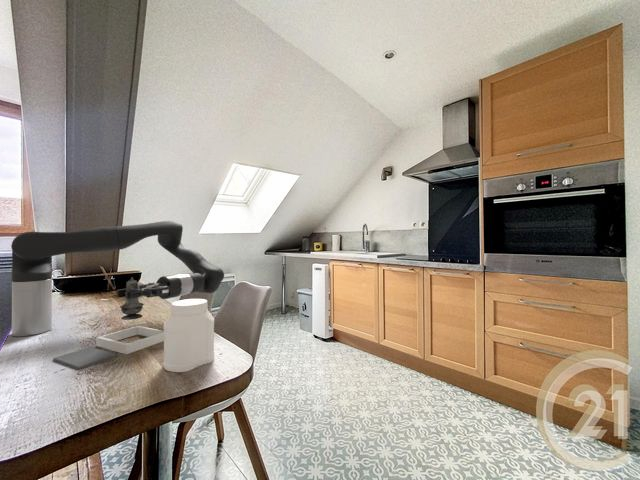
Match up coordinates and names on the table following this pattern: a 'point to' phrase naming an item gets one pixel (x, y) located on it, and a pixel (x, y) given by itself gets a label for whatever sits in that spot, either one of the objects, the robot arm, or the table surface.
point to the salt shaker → (131, 303)
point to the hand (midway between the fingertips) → (122, 294)
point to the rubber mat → (84, 357)
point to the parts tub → (113, 344)
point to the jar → (188, 336)
